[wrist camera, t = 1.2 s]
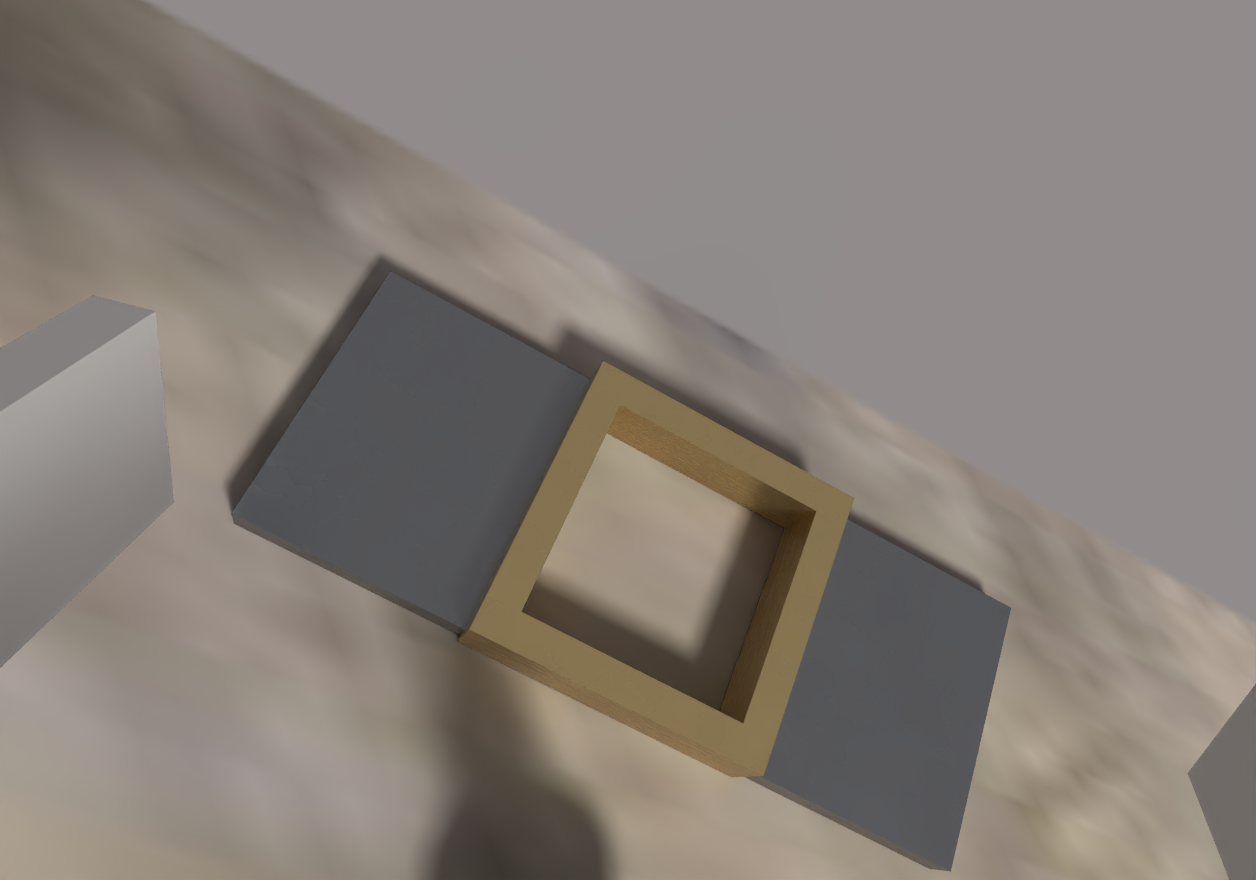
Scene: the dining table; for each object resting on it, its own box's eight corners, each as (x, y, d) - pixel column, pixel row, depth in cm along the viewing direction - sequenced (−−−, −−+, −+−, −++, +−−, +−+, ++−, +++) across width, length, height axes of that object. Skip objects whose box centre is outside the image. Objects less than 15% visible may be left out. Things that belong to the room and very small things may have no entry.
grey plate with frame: (230, 528, 30) (224, 507, 28) (390, 283, 35) (396, 247, 32) (928, 874, 33) (973, 880, 31) (991, 608, 38) (1035, 597, 36)
